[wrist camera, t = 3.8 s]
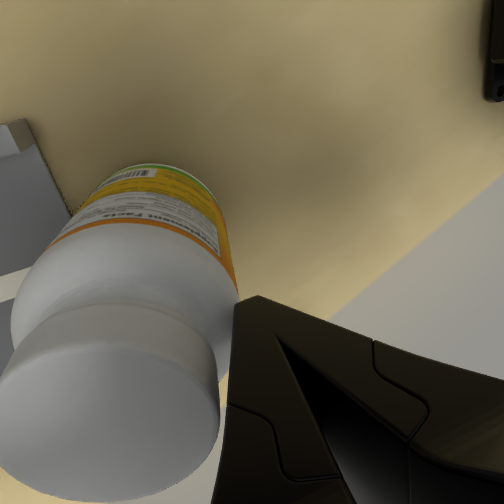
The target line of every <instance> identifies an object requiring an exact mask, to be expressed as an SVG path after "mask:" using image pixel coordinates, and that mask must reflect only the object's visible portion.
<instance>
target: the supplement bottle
mask: <svg viewBox="0 0 504 504" xmlns="http://www.w3.org/2000/svg"><path fill="white" fill-rule="evenodd" d="M238 302H240V300H239V294H238V289H237V284H236V279H235V274H234V269H233V264H232V258H231V253H230V248H229V242H228V237H227V232H226V226H225V222H224V218H223V215H222V211H221V209H220V206H219V204H218V202H217V200H216V199H215V197H214V195H213V194H212V193H211V191H210V190H209V189H208V188H207V187H206V186H205V185H204V184H203V183H202V182H201V181H200V180H198V179H197V178H195V177H194V176H193V175H191V174H189V173H188V172H186V171H184V170H182V169H179V168H176V167H173V166H169V165H164V164H151V163H149V164H139V165H134V166H130V167H127V168H124V169H122V170H120V171H118V172H116V173H114V174H113V175H111V176H110V177H108V178H107V179H106V180H105V181H103V182H102V183H101V184H100V185H99V186H98V187H97V188H96V189H95V190H94V192H93V193H92V194H91V195H90V196H89V198H88V199H87V200H86V201H85V202H84V204H83V205H82V206H81V207H80V209H79V210H78V211H77V212H76V213H75V215H74V216H73V217H72V218H71V219H70V221H69V222H68V223H67V224H66V226H65V227H64V228H63V229H62V230H61V231H60V233H59V234H58V235H57V236H56V237H55V239H54V240H53V241H52V242H51V244H50V245H49V246H48V247H47V248H46V249H45V251H44V252H43V253H42V254H41V255H40V256H39V258H38V259H37V260H36V262H35V263H34V265H33V266H32V268H31V269H30V270H29V272H28V273H27V275H26V276H25V278H24V280H23V281H22V283H21V285H20V287H19V289H18V291H17V294H16V297H15V300H14V303H13V307H12V313H11V336H12V342H13V346H14V350H15V351H14V353H13V354H12V356H11V358H10V360H9V362H8V364H7V366H6V368H5V369H4V371H3V373H2V375H1V376H0V466H1V467H2V468H3V469H4V470H5V471H6V472H7V473H8V474H10V475H11V476H12V477H14V478H15V479H16V480H18V481H20V482H22V483H23V484H25V485H27V486H29V487H31V488H32V489H35V490H37V491H39V492H42V493H45V494H48V495H51V496H55V497H58V498H62V499H67V500H72V501H80V502H99V503H104V502H119V501H127V500H132V499H137V498H141V497H144V496H148V495H152V494H155V493H158V492H160V491H163V490H165V489H167V488H169V487H171V486H173V485H175V484H177V483H178V482H180V481H181V480H183V479H185V478H186V477H188V476H189V475H190V474H191V473H193V472H194V471H195V470H196V469H197V468H198V467H199V466H200V465H201V464H202V463H203V462H204V461H205V460H206V458H207V457H208V455H209V454H210V452H211V450H212V448H213V446H214V444H215V442H216V439H217V437H218V432H219V427H220V398H219V386H218V383H219V381H220V380H221V379H222V378H223V377H224V375H225V374H226V373H227V371H228V369H229V365H230V351H231V337H232V324H233V310H234V305H235V304H236V303H238Z"/></svg>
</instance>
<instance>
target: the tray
mask: <svg viewBox="0 0 504 504" xmlns="http://www.w3.org/2000/svg"><path fill="white" fill-rule="evenodd" d="M71 218H72V217H71V215H70V213H69V211H68V209H67V207H66V204H65V202H64V200H63V198H62V196H61V194H60V192H59V190H58V188H57V185H56V183H55V181H54V179H53V177H52V175H51V173H50V171H49V169H48V166H47V164H46V162H45V160H44V158H43V156H42V154H41V152H40V150H39V148H38V145H37V143H36V141H35V139H34V137H33V135H32V133H31V131H30V129H29V126H28V124H27V122H26V120H25V118H24V119H20V120H16V121H12V122H8V123H4V124H0V376H1V375H2V373H3V371H4V369H5V368H6V366H7V364H8V362H9V360H10V358H11V356H12V354H13V353H14V351H15V350H14V346H13V342H12V336H11V313H12V307H13V303H14V300H15V297H16V294H17V291H18V289H19V287H20V285H21V283H22V281H23V280H24V278H25V276H26V275H27V273H28V272H29V270H30V269H31V268H32V266H33V265H34V263H35V262H36V260H37V259H38V258H39V256H40V255H41V254H42V253H43V252H44V251H45V249H46V248H47V247H48V246H49V245H50V244H51V242H52V241H53V240H54V239H55V237H56V236H57V235H58V234H59V233H60V231H61V230H62V229H63V228H64V227H65V226H66V224H67V223H68V222H69V221H70V219H71Z"/></svg>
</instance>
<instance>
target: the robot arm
mask: <svg viewBox="0 0 504 504" xmlns="http://www.w3.org/2000/svg"><path fill="white" fill-rule="evenodd" d="M497 89H498V90H497ZM496 92H497V93H496ZM485 97H486V99H487V101H489V102H501V101H504V0H492V7H491V21H490V35H489V48H488V62H487V76H486V89H485ZM211 504H504V380H501V379H498V378H494V377H491V376H487V375H484V374H480V373H477V372H473V371H470V370H466V369H463V368H459V367H455V366H452V365H448V364H445V363H442V362H438V361H435V360H432V359H428V358H425V357H422V356H419V355H416V354H413V353H410V352H407V351H404V350H402V349H399V348H396V347H393V346H390V345H388V344H385V343H383V342H380V341H377V340H374V341H373V340H372V338H369V337H366V336H364V335H361V334H359V333H356V332H353V331H351V330H348V329H346V328H343V327H340V326H338V325H335V324H332V323H330V322H327V321H325V320H322V319H319V318H317V317H314V316H311V315H309V314H306V313H304V312H301V311H298V310H296V309H293V308H291V307H288V306H285V305H283V304H280V303H277V302H275V301H272V300H270V299H267V298H264V297H262V296H259V295H256V296H253V297H251V298H248V299H246V300H243V301H241V302H238V303H236V304H235V305H234V310H233V324H232V337H231V351H230V365H229V379H228V392H227V407H226V417H225V428H224V437H223V445H222V451H221V457H220V462H219V467H218V472H217V478H216V482H215V486H214V491H213V495H212V500H211Z"/></svg>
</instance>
